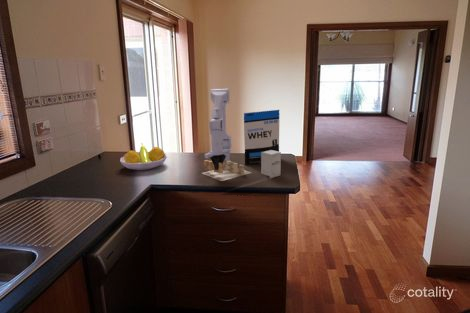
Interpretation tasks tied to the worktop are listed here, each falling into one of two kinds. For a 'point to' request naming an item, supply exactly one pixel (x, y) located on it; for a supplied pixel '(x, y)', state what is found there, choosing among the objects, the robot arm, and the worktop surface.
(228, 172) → the halving base
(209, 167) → the wooden block
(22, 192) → the worktop surface
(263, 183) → the worktop surface
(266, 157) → the supplement box
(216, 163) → the robot arm
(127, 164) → the fruit bowl
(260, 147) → the protein powder
